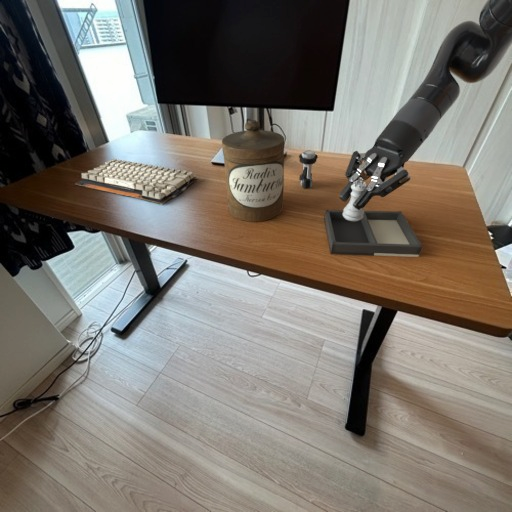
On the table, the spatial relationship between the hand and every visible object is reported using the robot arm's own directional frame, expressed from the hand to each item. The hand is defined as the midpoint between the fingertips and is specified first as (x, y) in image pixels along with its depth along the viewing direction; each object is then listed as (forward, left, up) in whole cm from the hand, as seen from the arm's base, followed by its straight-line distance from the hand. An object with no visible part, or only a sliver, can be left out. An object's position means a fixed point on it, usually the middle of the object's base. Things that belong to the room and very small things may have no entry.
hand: (349, 203), depth 56 cm
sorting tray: (-6, -1, -9) cm, 11 cm away
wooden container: (+21, -13, -9) cm, 27 cm away
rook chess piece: (-2, -1, -4) cm, 5 cm away
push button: (+7, -28, -9) cm, 30 cm away
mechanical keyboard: (+62, -28, -9) cm, 68 cm away
